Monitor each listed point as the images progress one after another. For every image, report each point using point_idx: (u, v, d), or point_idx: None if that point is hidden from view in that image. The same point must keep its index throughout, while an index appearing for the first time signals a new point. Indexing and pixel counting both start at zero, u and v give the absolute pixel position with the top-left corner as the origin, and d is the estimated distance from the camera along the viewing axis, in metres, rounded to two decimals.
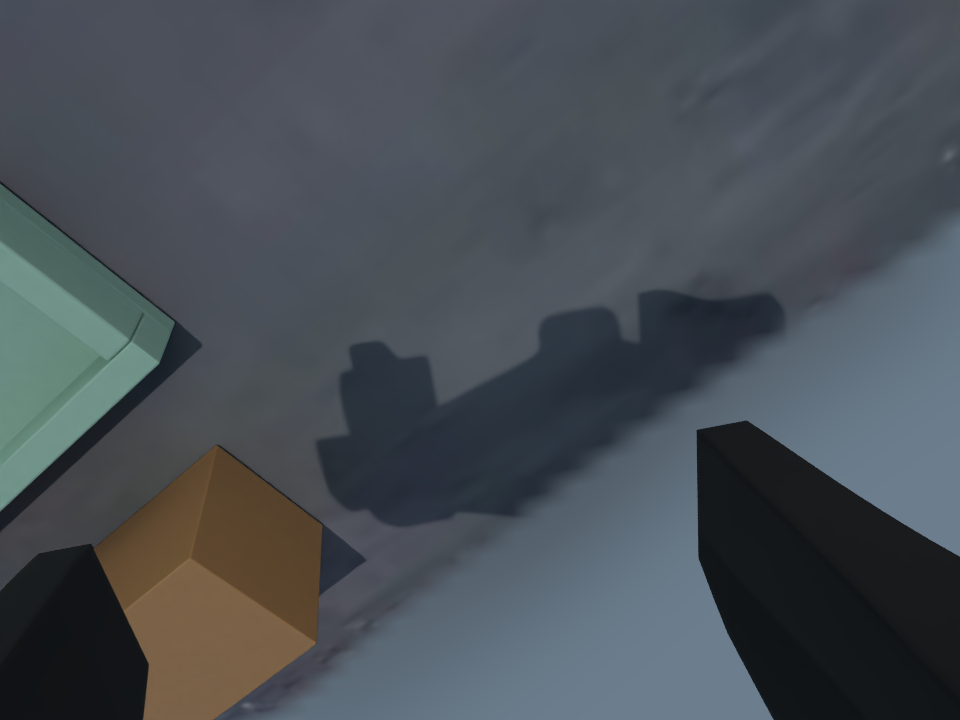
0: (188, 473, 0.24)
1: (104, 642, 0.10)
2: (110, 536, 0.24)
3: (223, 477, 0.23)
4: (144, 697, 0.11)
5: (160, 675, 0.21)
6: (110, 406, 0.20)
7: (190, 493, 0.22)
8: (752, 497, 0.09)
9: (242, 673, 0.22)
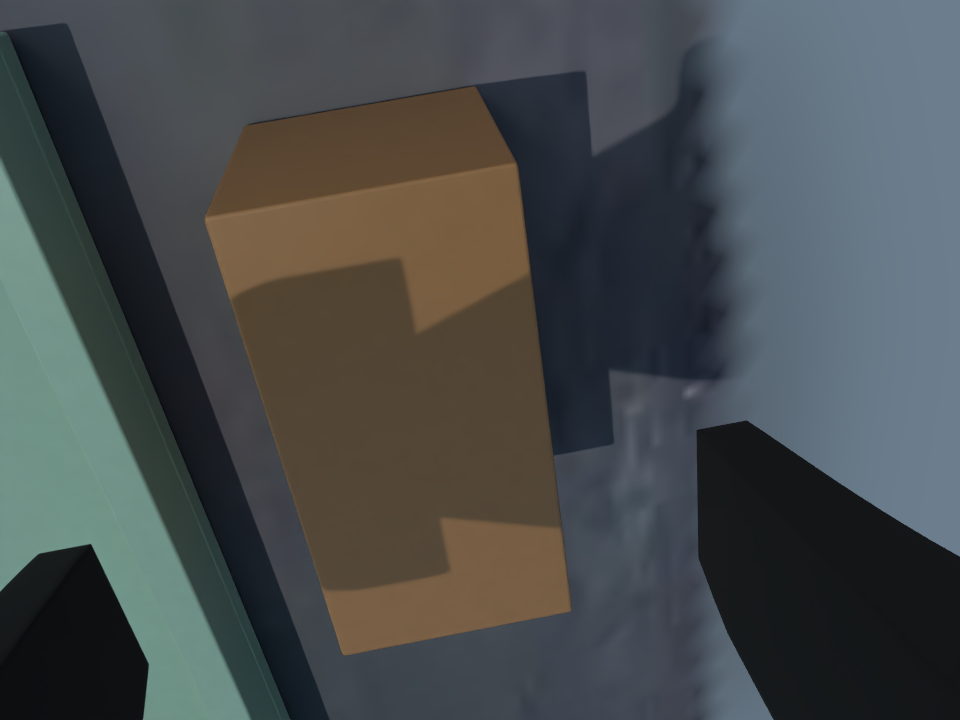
0: None
1: (104, 642, 0.10)
2: None
3: (262, 138, 0.14)
4: (144, 697, 0.11)
5: (406, 407, 0.13)
6: (2, 174, 0.13)
7: None
8: (752, 498, 0.09)
9: (490, 307, 0.12)
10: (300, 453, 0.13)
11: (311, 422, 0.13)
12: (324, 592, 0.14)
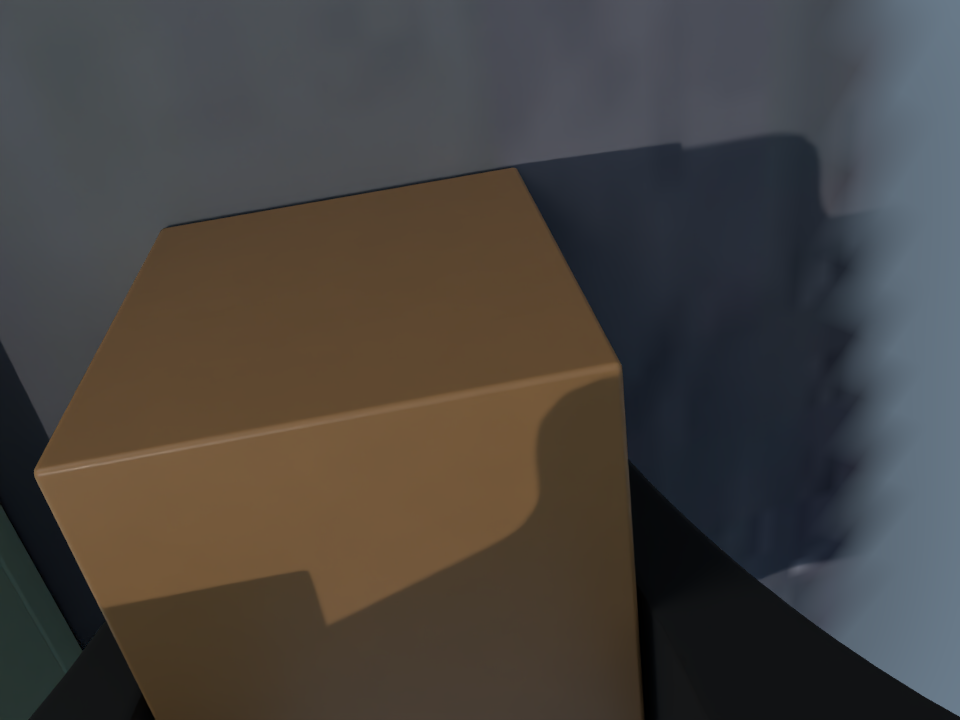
0: None
1: None
2: None
3: (181, 259, 0.09)
4: None
5: None
6: None
7: None
8: None
9: (559, 588, 0.07)
10: None
11: None
12: None
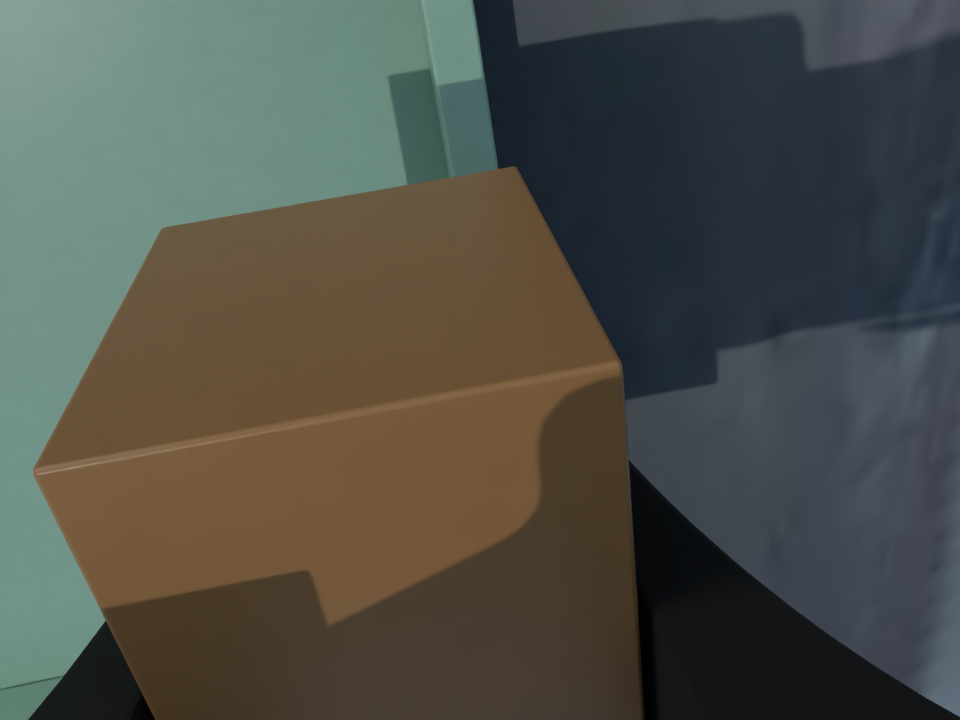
0: None
1: None
2: None
3: (181, 258, 0.09)
4: None
5: None
6: None
7: None
8: None
9: (560, 587, 0.07)
10: None
11: None
12: None
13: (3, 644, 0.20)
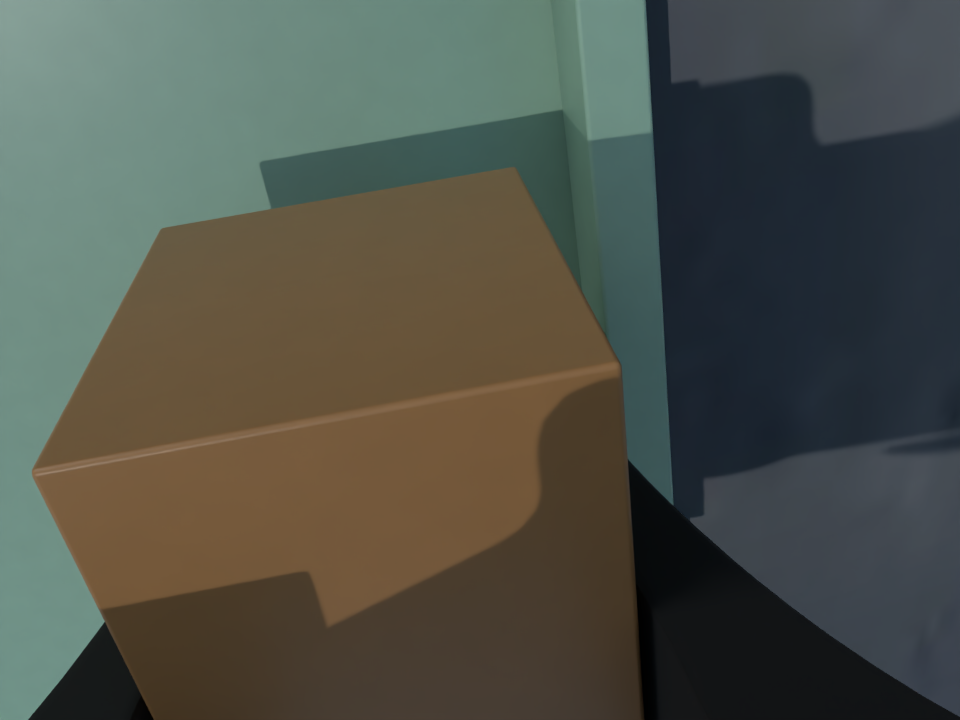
0: None
1: None
2: None
3: (180, 259, 0.09)
4: None
5: None
6: None
7: None
8: None
9: (559, 587, 0.07)
10: None
11: None
12: None
13: None
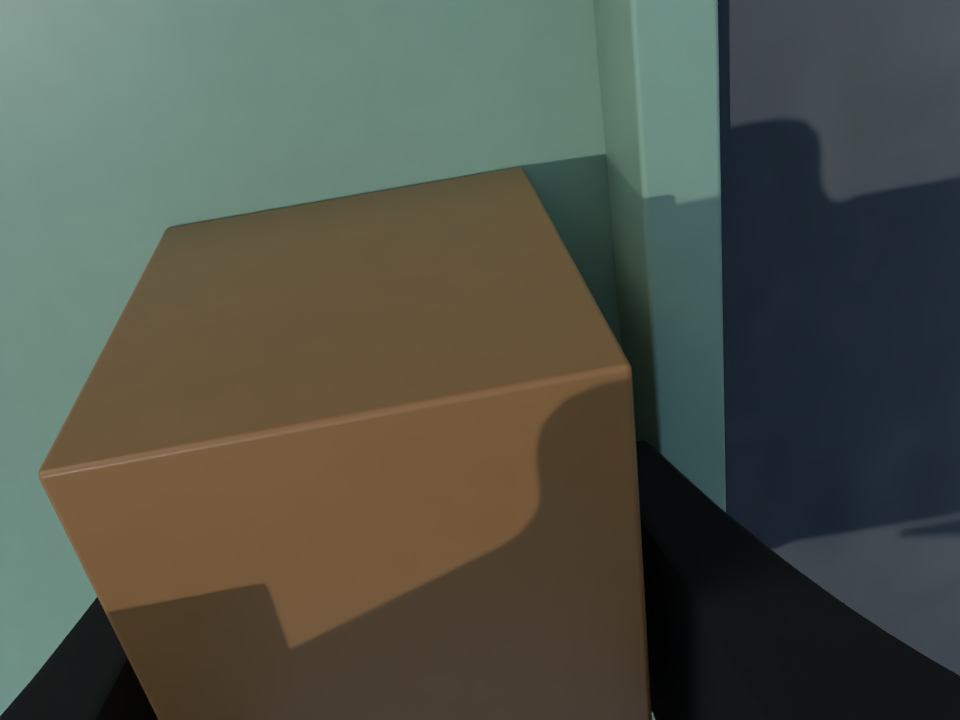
0: None
1: None
2: None
3: (185, 259, 0.09)
4: None
5: None
6: None
7: None
8: None
9: (567, 591, 0.07)
10: None
11: None
12: None
13: None
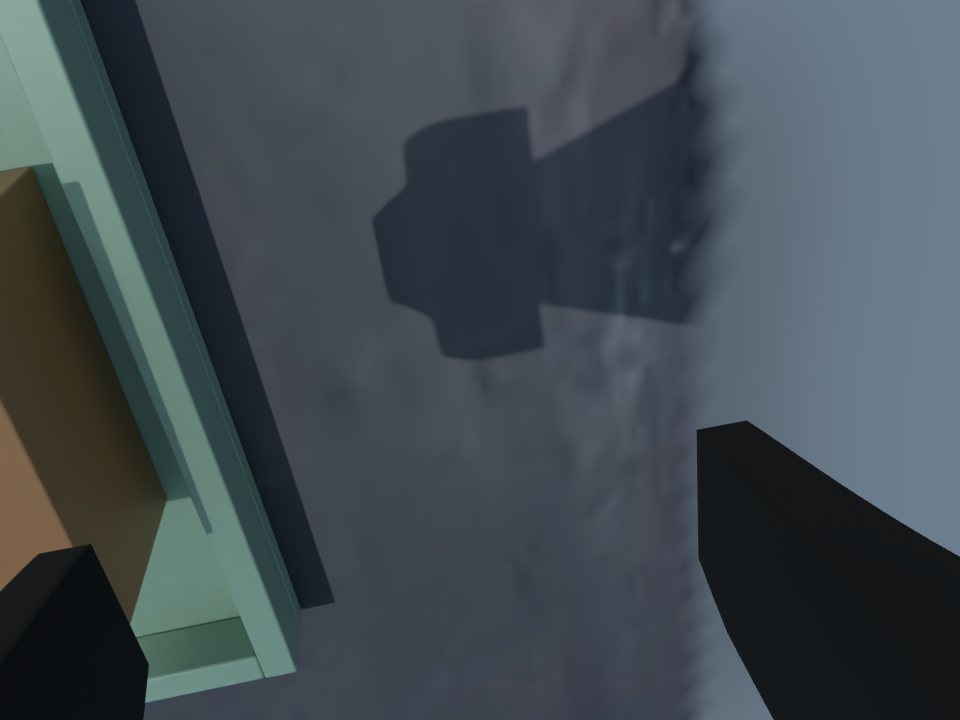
0: None
1: (104, 642, 0.10)
2: None
3: None
4: (144, 697, 0.11)
5: None
6: None
7: None
8: (752, 497, 0.09)
9: None
10: None
11: None
12: None
13: None
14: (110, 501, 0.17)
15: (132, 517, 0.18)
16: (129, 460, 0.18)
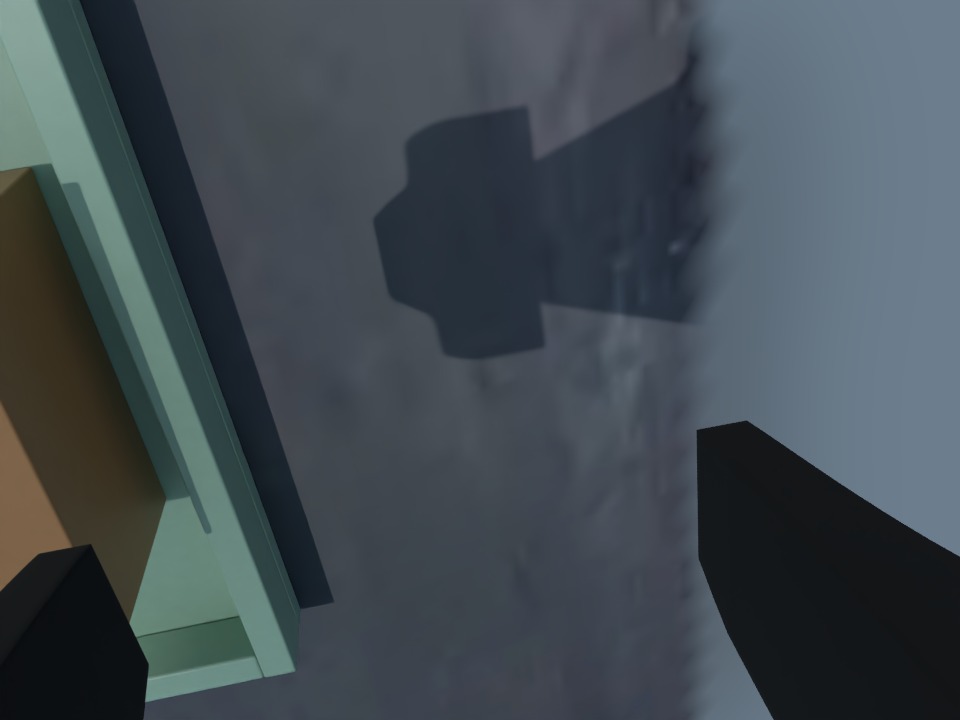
0: None
1: (104, 642, 0.10)
2: None
3: None
4: (144, 697, 0.11)
5: None
6: None
7: None
8: (752, 497, 0.09)
9: None
10: None
11: None
12: None
13: None
14: (109, 500, 0.17)
15: (131, 517, 0.18)
16: (127, 460, 0.18)
